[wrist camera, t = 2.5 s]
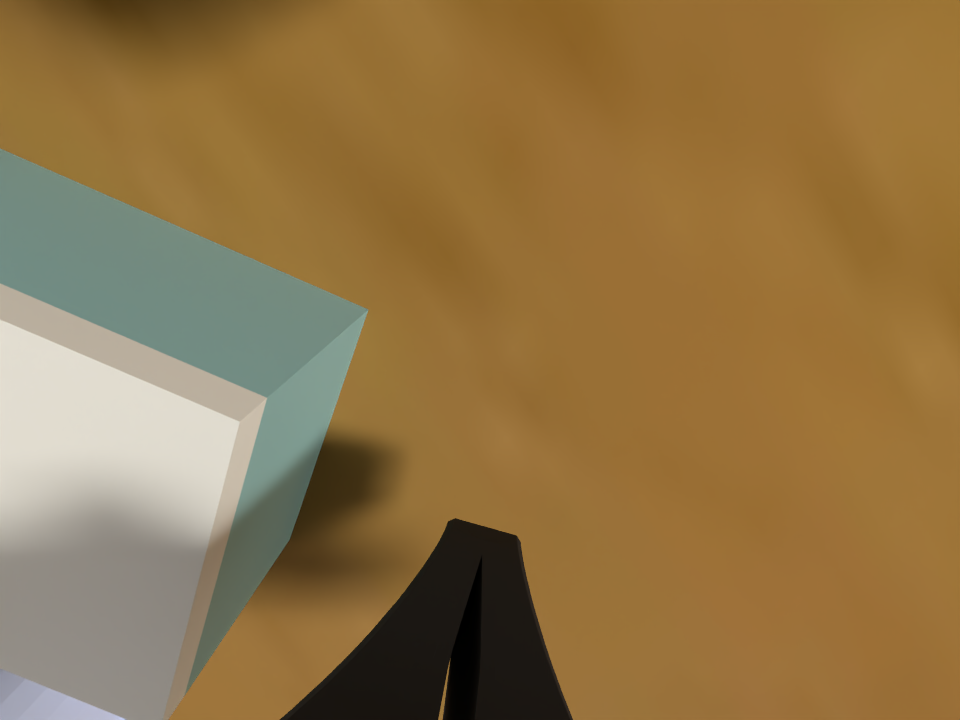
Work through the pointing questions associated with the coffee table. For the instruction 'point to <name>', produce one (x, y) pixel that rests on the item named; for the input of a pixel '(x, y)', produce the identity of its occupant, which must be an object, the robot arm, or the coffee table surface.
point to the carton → (145, 437)
